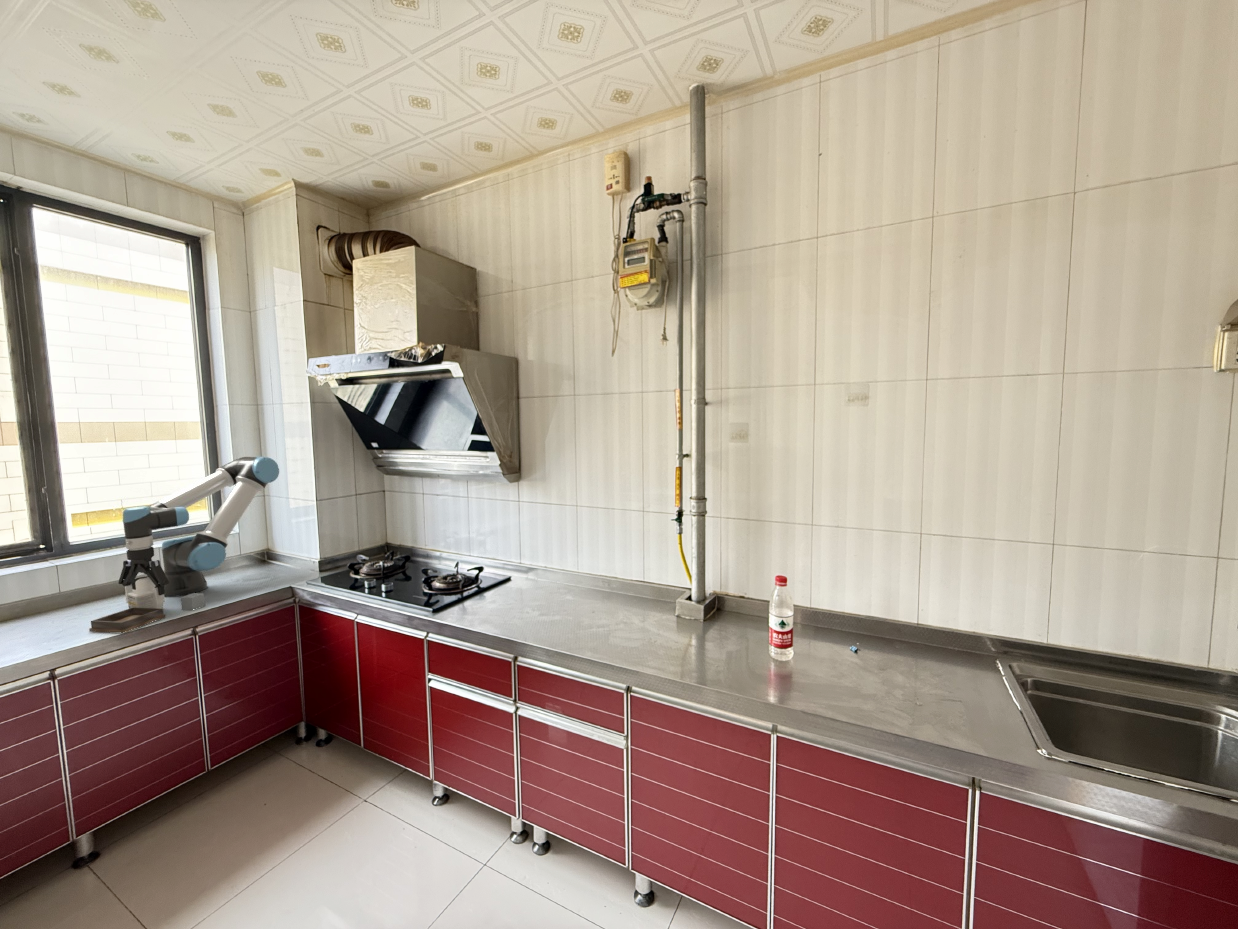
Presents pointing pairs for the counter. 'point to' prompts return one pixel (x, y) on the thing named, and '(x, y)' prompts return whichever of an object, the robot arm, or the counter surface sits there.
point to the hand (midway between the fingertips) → (145, 602)
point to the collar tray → (126, 619)
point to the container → (143, 594)
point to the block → (192, 601)
